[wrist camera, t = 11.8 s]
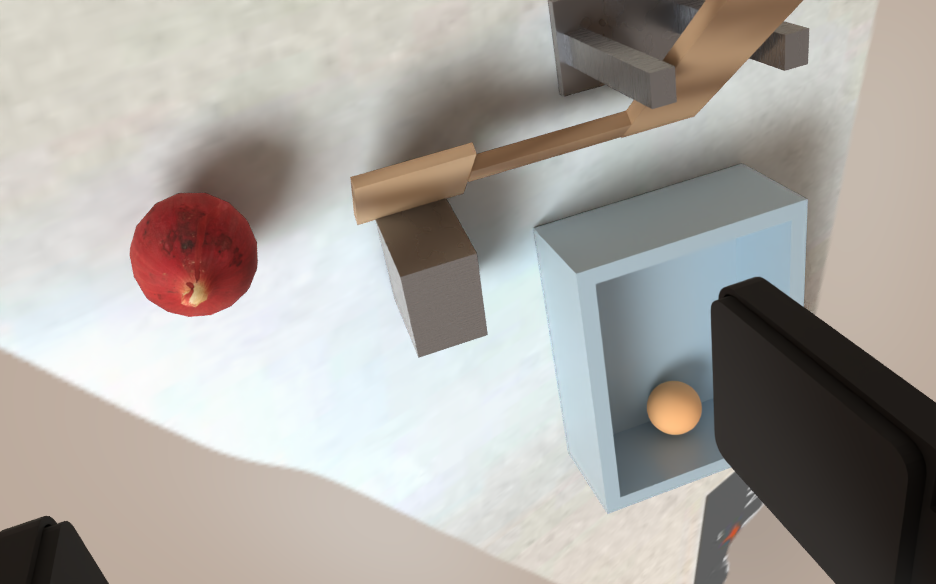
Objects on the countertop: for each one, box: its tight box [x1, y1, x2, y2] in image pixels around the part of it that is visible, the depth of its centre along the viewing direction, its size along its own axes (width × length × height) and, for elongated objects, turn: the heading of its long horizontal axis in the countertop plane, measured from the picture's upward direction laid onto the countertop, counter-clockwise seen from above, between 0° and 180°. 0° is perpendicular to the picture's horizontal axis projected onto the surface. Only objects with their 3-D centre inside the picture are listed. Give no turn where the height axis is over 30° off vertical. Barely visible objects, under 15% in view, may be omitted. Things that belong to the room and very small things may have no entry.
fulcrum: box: [548, 0, 809, 109], centre depth 40 cm, size 5×9×10 cm, turn 101°
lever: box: [350, 0, 803, 225], centre depth 31 cm, size 27×19×3 cm
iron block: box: [375, 198, 488, 358], centre depth 44 cm, size 5×4×6 cm
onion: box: [130, 193, 258, 317], centre depth 39 cm, size 6×6×8 cm
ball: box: [647, 381, 702, 435], centre depth 54 cm, size 4×4×4 cm
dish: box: [533, 164, 808, 514], centre depth 51 cm, size 18×14×6 cm
